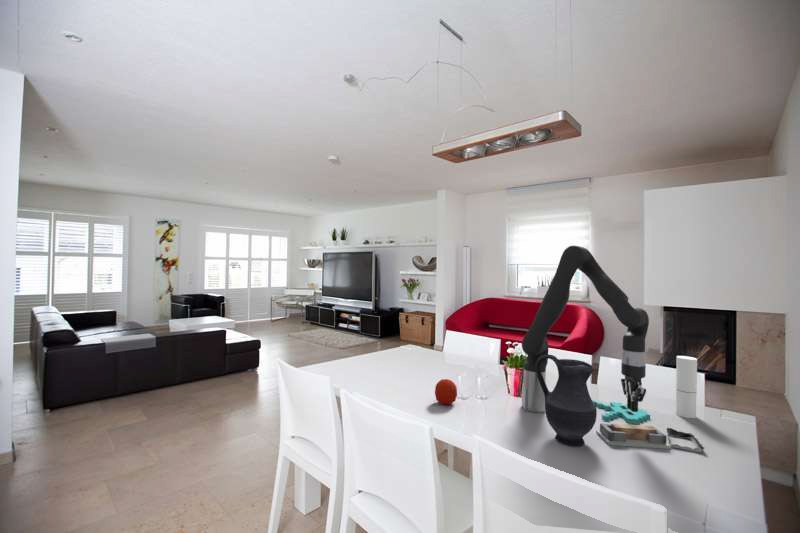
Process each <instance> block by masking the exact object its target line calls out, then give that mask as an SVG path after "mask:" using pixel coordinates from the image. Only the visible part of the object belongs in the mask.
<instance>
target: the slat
mask: <svg viewBox="0 0 800 533" xmlns="http://www.w3.org/2000/svg"><path fill="white" fill-rule="evenodd" d="M610 424H611V430H612V431H622V432H625V433H626V439H630V440H645V441H647V437H648V433H654V434H657V430H658V429H657V428H656V427H655V428H656V429H657V430H656V429H655V428H653V427H654V426H653V425H643V424H642V425H639V424H623V423H610Z"/></svg>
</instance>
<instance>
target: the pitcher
mask: <svg viewBox="0 0 800 533" xmlns="http://www.w3.org/2000/svg"><path fill="white" fill-rule="evenodd" d="M547 358H548V359H549V360H551V361H552V362H554V364H555V365H556V368H557V373H558V375H557V376H558V377H557V381H556V384H555V386H554V388H553V390H552V391H550V390H549V388H548V386H547V384H546V383H545V381H544V379H543V376H542V374H541V371H540V362H541V361H542V360H544V359H547ZM535 370H536V374H537V377H538V380H539V383H540V385H541V388H542V390H543V392H544V396H545V411H544V412H545V417H546V419H547V422H548V424H549V426H550V427H551V428H552V429H553V431H554V432H555V433H556V434H555V436H554V438H555V441H556V442H558V443H559V444H562V445H564V446H568V447H573V448H577V447H582V446H584V445H585V443H586V442H585V440H584V438H583V437H585V436H587V434H588V433H590V432H591V431H592V429H593V428H594V426H595V424H596V421H597V412H598V411H597V406H595V404H594V402H593V401H592V400H593V399H592V397H591V395H590V392H589V390H588V389H589V388H588V385H587V382H588V380H589V379H590V376H592V374H593V373H594V372H595V370H596V367H594V366H593V365H592V364H590V363H589V362H586V361H583V360H579V359H572V358H571V359H569V358H561V359H558V357H556V356H555V355H553V354H548V355H543V356H541V357H539V358H538V359H537V361H536V364H535Z"/></svg>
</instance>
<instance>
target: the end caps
mask: <svg viewBox="0 0 800 533" xmlns="http://www.w3.org/2000/svg"><path fill="white" fill-rule="evenodd" d="M611 424H612V423H601V422H600V423H599V430H600V432H601V433H602V434H603V435H604V436H605V437H606V438H607V439H608V440H609V441H620V442H626V433H625V432H622V431H612V430H611ZM652 427H653V428H655V429H656V430H657V434H654V433H648V437H647V442H649V443H651V444H666V443H667V435H666V434H665V433H663V432H662V431H660V430H659V429H658V428H656V427H655V426H652Z"/></svg>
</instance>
